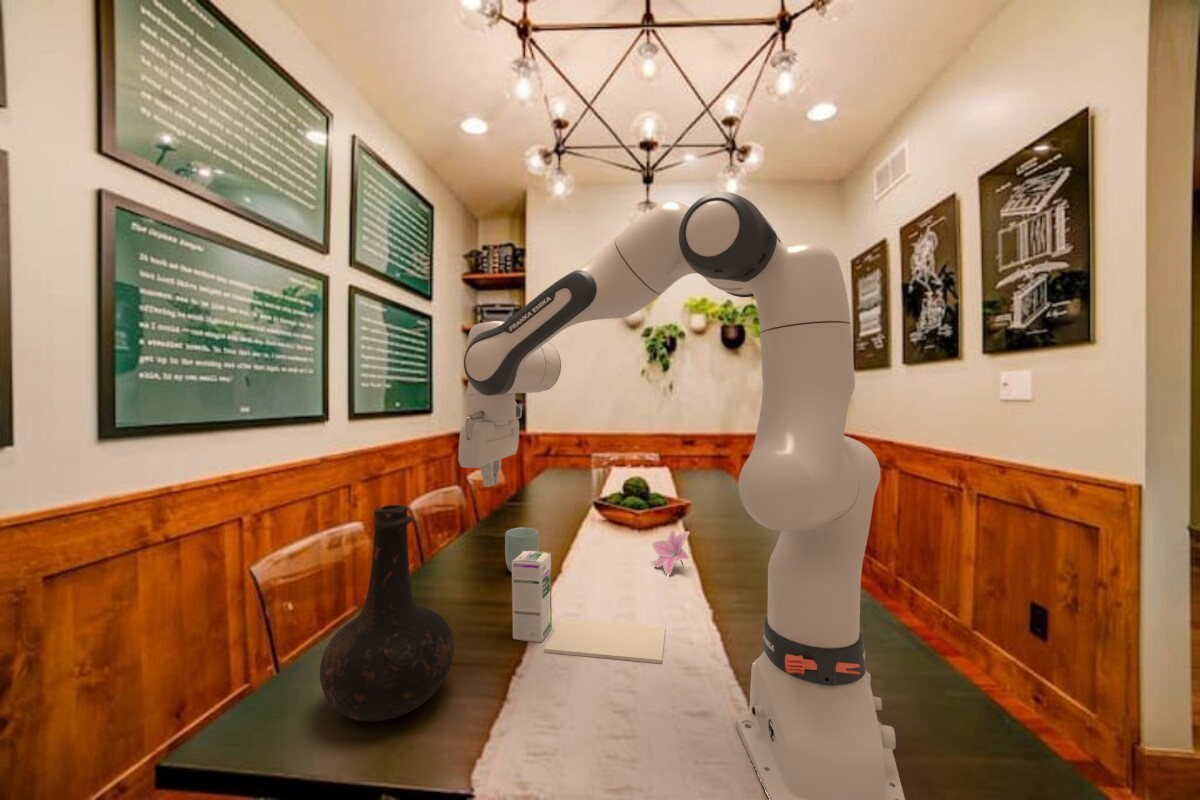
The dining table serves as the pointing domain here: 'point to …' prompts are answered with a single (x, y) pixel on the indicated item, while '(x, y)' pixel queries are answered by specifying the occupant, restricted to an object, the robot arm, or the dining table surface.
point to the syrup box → (531, 596)
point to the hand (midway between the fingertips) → (490, 485)
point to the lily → (670, 550)
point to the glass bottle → (387, 637)
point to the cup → (519, 543)
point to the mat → (608, 640)
